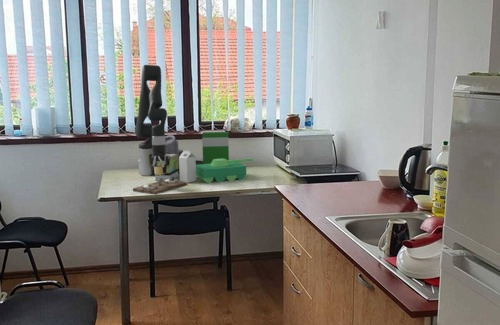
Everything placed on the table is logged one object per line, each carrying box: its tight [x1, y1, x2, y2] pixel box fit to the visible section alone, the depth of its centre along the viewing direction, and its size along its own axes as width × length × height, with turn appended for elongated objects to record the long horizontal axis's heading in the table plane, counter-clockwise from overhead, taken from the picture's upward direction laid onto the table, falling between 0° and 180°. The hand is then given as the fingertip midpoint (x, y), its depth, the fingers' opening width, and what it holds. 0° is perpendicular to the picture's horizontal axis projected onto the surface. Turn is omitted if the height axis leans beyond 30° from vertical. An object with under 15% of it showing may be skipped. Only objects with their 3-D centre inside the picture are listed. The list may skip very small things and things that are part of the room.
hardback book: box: [201, 131, 230, 164], centre depth 367 cm, size 18×7×24 cm, turn 92°
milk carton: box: [179, 149, 197, 184], centre depth 321 cm, size 7×7×19 cm
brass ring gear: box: [154, 165, 166, 175], centre depth 304 cm, size 6×6×4 cm
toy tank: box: [196, 157, 254, 184], centre depth 330 cm, size 18×12×35 cm
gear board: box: [132, 177, 188, 195], centre depth 306 cm, size 16×28×6 cm, turn 148°
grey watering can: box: [165, 134, 184, 175], centre depth 354 cm, size 30×16×24 cm, turn 161°
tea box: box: [154, 154, 179, 182], centre depth 331 cm, size 15×10×15 cm
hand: (160, 172), depth 305 cm, fingers closed on brass ring gear, 6 cm apart
